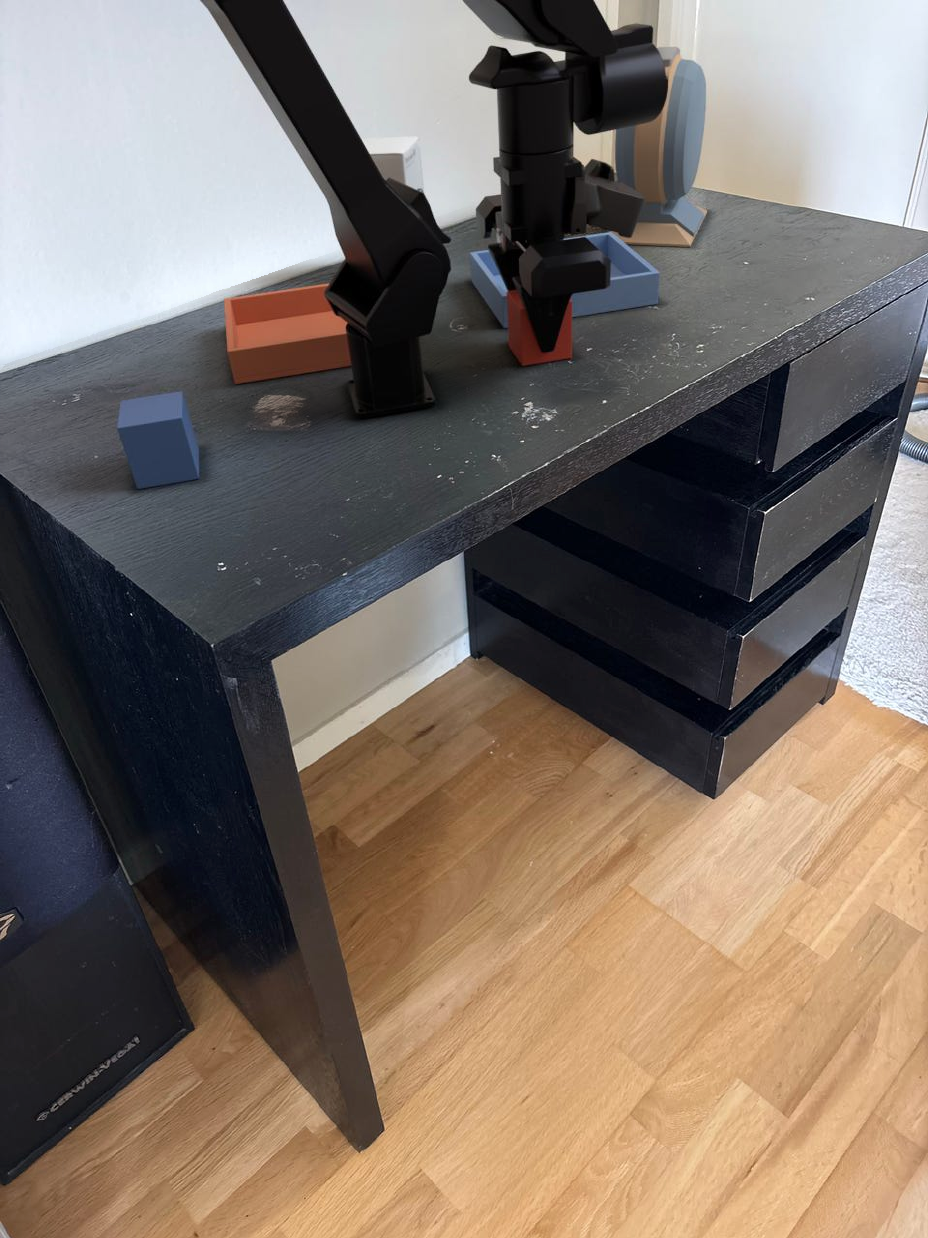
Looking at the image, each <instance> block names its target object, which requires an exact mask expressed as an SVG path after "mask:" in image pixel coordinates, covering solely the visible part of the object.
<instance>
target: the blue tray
mask: <svg viewBox="0 0 928 1238" xmlns="http://www.w3.org/2000/svg"><path fill="white" fill-rule="evenodd" d="M580 237H586V238H587V239H588V240H589V241H590V242H591V243H592V244H594V245H595V246H596V247H597V248H598V249H599V250H600V251H601V252H602V253H603V254H604V255H605V256H607V257H608V258H609V259H610V260H611V275H610V286H609V287H607V288H606V289H601V290H594V291H588V292H581V293H575V294H573V295H572V296H571V298H570V300H571V301H572V318H578V317H584V316H591V315H596V314H604V313H609V312H616V311H622V310H628V309H634V308H640V307H646V306H648V307H649V306H653V305H654V306H655V305H658V303H659V294H660V293H659V291H660V279H661V278H660V277H661V276H660V275H661V272H660V271H658V270H657V269H656V268H655V267H654V266H653V265H652V264H650V263H649V261H647V260H645V259H644V258H643V257H642V256H641V255H640V254H638V252H636V250H634V249H632V248H631V247H630V246H629V244H625V243H624V242H623V241H622V240H620V239H619V238H618V237H617V236H616V235H614V234H613V233H612V232H608V233H606V232H602V233H594V234H587V235H581V236H575V237H568V238H564V240H567V239H573V238H580ZM469 261H470V276H471V283H472V284H473V286H474V287H475V288H476V290H477V291H478V294H480V296H481V298H482V300H484V302H485V303H486V304H487V306H488V307H489V309H490V310H491V312H492V313H493V314H494V316H495V318H496V319H497V320H498V322H499V323H500V325H501V327H503V329H508V314H507V288H506V286H505V284H504V282H503V280H502V278H501V275H500V273H499V271H498V269H497V267H496V265H495V262H494V260H493V258H492V256H491V254H490V252H489V250H488V249H484V250H478V251H471V252H469Z"/></svg>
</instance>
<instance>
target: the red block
mask: <svg viewBox="0 0 928 1238" xmlns="http://www.w3.org/2000/svg"><path fill="white" fill-rule="evenodd" d="M507 314H508V328H507V335H508V336H507V337H508V339H507V340H508V347H509V349H510V350H511V352H512V353H513V355H514V356H515V358H516V359H517V361H518V362H519V363H520V365H521V366H522V367H525V366H531V365H537V364H542V363H543V364H544V363H549V362H555V361H561V360H567V359H572V358H573V317H572V301H571V300H570V301H569V304H568V306H567V309H566V312H565V316H564V319H563V322H562V326H561V329H560V332H559V336H558V339H557V342H556V346H555V349H554V351H552V352H547V353H542V352H541V350H540V348H539V346H538V343H537V341H536V338H535V336H534V333H533V330H532V328H531V325H530V323H529V320H528V318H527V315H526V312H525V310H524V307H523V305H522V302H521V299H520V297H519V294H518V292H517V290H512V291H507Z"/></svg>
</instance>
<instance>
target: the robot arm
mask: <svg viewBox="0 0 928 1238" xmlns="http://www.w3.org/2000/svg"><path fill="white" fill-rule="evenodd" d="M199 1H200V2H201V3H202V5H203V6H204V7H205V8H206V9H207V10H208V12H209V14H210V15H211V16H212V17H211V18H212V19H213V20H214V21H215V23H216V24H217V26H218V29H220V31H221V33H222V34H223V36H224V37H225V39H226V41H227V42H228V44H229V46H230V47H231V48H232V50H233V52H234V53H235V55H236V57H237V58H238V60H239V61H240V63H241V65H242V66H243V68H244V69H245V71H246V73H247V74H248V76H249V77H250V79H251V81H252V83H253V84H254V86H255V87H256V89H257V90H258V92H259V94H260V95H261V97H262V98H263V100H264V101H265V103H266V104H267V106H268V108H269V109H270V111H271V113H272V114H273V116H274V117H275V119H276V121H277V122H278V124H279V126H280V127H281V129H282V130H283V132H284V134H285V135H286V136H287V138H288V140H289V142H290V143H291V144H292V147H293V148H294V149H295V151H296V153H297V154H298V156H299V158H300V160H301V161H302V163H303V164H304V166H305V167H306V169H307V171H308V173H310V175H311V177H312V178H313V180H314V182H315V183H316V185H317V186H318V188H319V190H320V191H321V193H322V194H323V196H324V198H325V200H326V202H327V205H328V207H329V211H330V216H331V220H332V226H333V230H334V234H335V237H336V240H337V242H338V245H339V247H340V249H341V251H342V254H343V256H344V260H343V262H342V263H341V264H340V266H339V268H338V269H337V271H336V272H335V274H334V275H333V276H332V279H331V280H330V282H329V285H328V287H327V288H326V290H325V291H324V296H325V298H326V300H327V302H328V304H329V305H330V307H331V309H332V311H333V313H334V314H335V315H336V316H338V317H341V318H342V319H343V320H345V321H346V322H347V325H346V334H347V341H348V347H349V354H350V360H351V366H350V367H351V373H352V379H349V380H348V381H347V382H346V387H347V390H348V393H349V396H350V400H351V403H352V407H353V410H354V413H355V417H357V418H359V419H363V418H369V417H370V418H371V417H376V416H382V415H387V414H394V413H395V414H396V413H400V412H406V411H411V410H412V411H413V410H418V409H424V408H425V409H426V408H431V407H434V406H435V405H436V404H437V401H436V396H435V395H434V393H433V390H432V387H431V386H430V384H429V382H428V380H427V377H426V375H425V373H424V369H423V359H422V349H421V339H420V338H421V337H424V336H428V335H429V334H431V333H432V331H433V327H434V324H435V317H436V313H437V309H438V305H439V300H440V296H441V295H442V293H443V291H444V289H445V287H446V285H447V283H448V278H449V273H451V271H452V263H451V257H450V255H449V252H448V250H447V248H446V247H445V245H444V244H450V243H451V242H452V238H451V237H450V236H448V235H447V234H446V233H445V232H444V231H442V229H441V228H440V226H439V225H438V223H437V221H436V219H435V215H434V212H433V210H432V206H431V204H430V201H429V200H428V198H427V196H426V194H425V192H424V193H422V192H420V191H418V190H416V189H414V188H412V187H409V186H407V185H405V184H403V183H401V182H399V181H397V180H394V179H392V178H390V177H389V178H388V179H387V180H385V179H384V178H383V177H382V175H381V173H380V171H379V170H378V168H377V166H376V164H375V162H374V161H373V159H372V157H371V155H370V154H369V152H368V150H367V148H366V146H365V145H364V143H363V141H362V138H361V135H360V134H359V132H358V131H357V129H356V128H355V125H354V123H353V122H352V120H351V118H350V116H349V114H348V113H347V111H346V109H345V107H344V105H343V104H342V102H341V101H340V98H339V96H338V95H337V93H336V91H335V90H334V88H333V86H332V84H331V82H330V81H329V79H328V77H327V76H326V73H325V72H324V70H323V69H322V67H321V65H320V63H319V61H318V60H317V58H316V56H315V54H314V52H313V50H312V49H311V47H310V46H309V44H308V41H307V40H306V38H305V36H304V35H303V33H302V31H301V29H300V28H299V26H298V24H297V22H296V19H294V17H293V15H292V13H291V12H290V10H289V8H288V6H287V4H286V3H285V1H284V0H199ZM462 2H463V3H464V4H465V6H467V8H468V9H469V10H470V11H472V13H474V15H475V16H476V17H477V18H478V19H479V20H480V21H481V22H482V23H483V24H484V25H485V26H486V27H487V28H488V29H489V30H490V31H491V32H492V33H493V34H495V35H496V36H498V37H501V38H504V39H506V40H512V41H518V42H524V43H528V44H531V45H532V46H534V47H536V48H541V49H545V50H551V51H557V52H563V53H564V59H562V60H557V61H554V60H553V58H552V57H551V56H550V55H549V54H548V53H546V52H544V51H541V50H535V51H529V52H524V53H517V54H511V52H510V51H509V50H508V48H506V47H502V46H497V45H490V46H488V48H487V50H486V53H485V55H484V57H483V58H481V61H479V62H478V63H477V64H476V65H475V67H474V68H473V69H472V70H471V72H470V73H469V75H468V81H469V83H470V84H472V85H475V86H480V87H483V88H487V89H490V90H491V89H492V90H496V104H497V127H498V128H497V129H498V130H497V132H498V156H495V157H492V163H493V166H492V167H493V172H494V173H495V174H496V175H497V176H498V177H499V182H500V183H499V184H500V193H499V194H494V195H486V196H484V198H483V199H482V200H481V201H480V202H479V204H478V205H477V206H476V207H475V219H476V220H475V221H476V231H477V232H478V233H479V235H480V237H482V239H490V238H491V236H492V233H493V229H494V230H495V233H496V234H495V235H496V242H493V243H489V244H488V245H487V250H489V252H490V254H491V256H492V258H493V260H494V262H495V265H496V267H497V269H498V271H499V273H500V275H501V278H502V280H503V282H504V284H505V286H506V288H507V291H512V290H517V292H518V294H519V297H520V299H521V302H522V305H523V307H524V310H525V312H526V315H527V318H528V320H529V323H530V325H531V328H532V330H533V333H534V336H535V338H536V341H537V343H538V346H539V348H540V350H541V352H542V353H547V352H552V351H554V349H555V346H556V342H557V339H558V336H559V332H560V329H561V326H562V322H563V319H564V316H565V312H566V309H567V306H568V304H569V301H570V298H571V296H572V295H573V294H575V293H581V292H588V291H594V290H601V289H606V288H607V287H609V286H610V275H611V260H610V259H609V258H608V257H607V256H605V255H604V254H603V253H602V252H601V251H600V250H599V249H598V248H597V247H596V246H595V245H594V244H592V243H591V242H590V241H589V240H588V239H587V238H586V237H580V236H579V237H580V238H574V237H572V238H573V239H567V238H566V235H569V234H570V235H571V236H576V235H583V234H587V225H588V226H590V227H595V228H597V229H602V230H605V231H606V230H610V231H613V232H617V233H618V234H619V235H620V236H622V237H627V238H631V237H632V235H633V232H634V229H635V227H636V224H637V221H638V218H639V216H640V213H641V210H642V207H643V205H644V202H645V199H646V198H645V197H644V196H643V195H642V194H640V193H639V192H637V191H636V190H634V189H633V188H631V187H629V186H627V185H625V184H623V183H622V182H619V181H618V180H615V168H614V167H613V166H611V164H609V163H608V162H605V161H601V160H598V159H595V158H591V159H590V160H589V161H588V162H587V163H586V164H585V165H584V164H583V163H582V161H580V159H578V158H576V157H575V156H574V151H575V149H574V147H575V146H574V145H575V144H574V140H575V139H574V138H575V137H574V135H575V134H574V130H575V129H574V127H575V126H576V128H577V129H578V130H579V132H581V133H582V134H584V135H588V136H590V135H596V134H602V133H605V132H610V131H616V129H620V128H625V127H630V126H634V125H639V124H644V123H648V122H652V121H653V120H655V119H656V118H657V117H658V116H659V115H660V113H661V111H662V109H663V108H664V105H665V102H666V99H667V93H668V77H667V76H666V72H665V66H664V63H663V59H662V57H661V55H660V52H659V51H658V49H657V48H658V47H657V46H656V45H655V44H654V42H653V41H654V40H653V39H654V27H653V26H652V25H651V24H644V23H637V22H636V23H630V24H625V25H622V26H621V27H619V28H617V29H613V30H611V28H610V27H609V25H608V24H607V22H606V20H605V18H604V16H603V14H602V13H601V10H600V8H599V7H598V5H597V4H596V1H595V0H462ZM564 239H567V240H564Z"/></svg>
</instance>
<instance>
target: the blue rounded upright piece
mask: <svg viewBox="0 0 928 1238" xmlns="http://www.w3.org/2000/svg"><path fill="white" fill-rule="evenodd" d="M656 48H657V49H658V51H659V52H660V55H661V57H662V59H663V63H664V66H665V72H666V76H667V77H668V93H667V99H666V102H665V105H664V108H663V109H662V111H661V113H660V115H659V116H658V117H657V118H656V119H655V120H653V121H652V122H648V123H644V124H639V125H634V126H630V127H625V128H620V129H616V130H615V139H614V140H615V142H614V164H615V175H616V181H619V182H622V183H623V184H625V185H627V186H629V187H631V188H633V189H634V190H636V191H637V192H639V193H640V194H642V195H643V196H644V197H645V198H646V199H645V202H644V205H643V207H642V210H641V213H640V216H639V218H638V221H637V224H636V227H635V229H634V232H633V235H632V237H631V238H627V237H622V236H620V235H619V234H618V233H617V232H613V231H610V230H606V229H605V233H608V232H612V233H613V234H614V235H616V236H617V237H618V238H619V239H620V240H622V241H623V242H624V243H625V244H626V245H634V246H635V245H637V246H655V247H656V246H657V247H677V248H678V247H680V248H691V245H692V244H693V241H694V240H695V238H696V236H697V233H698V232H699V230H700V228H701V225H702V223H703V222H704V220H705V218H706V215H707V213H708V210H706V209H704V208H702V207H700V206H698V205H696V204H694V203H692V202H691V201H689V199H687V198H686V197H685V196H686V195H688V194H689V192H690V191H691V189H692V187H693V186H694V184H695V181H696V178H697V174H698V169H699V164H700V161H701V160H700V159H701V153H702V147H703V140H704V131H705V122H706V109H707V82H706V81H707V80H706V76H705V73H704V70H703V68H702V66H701V65H700V64H699V63H697V62H696V61H695V60H691V59H684V58H683V57H682V56H681V49H680V48H679V47H678V46H658V47H656Z"/></svg>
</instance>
